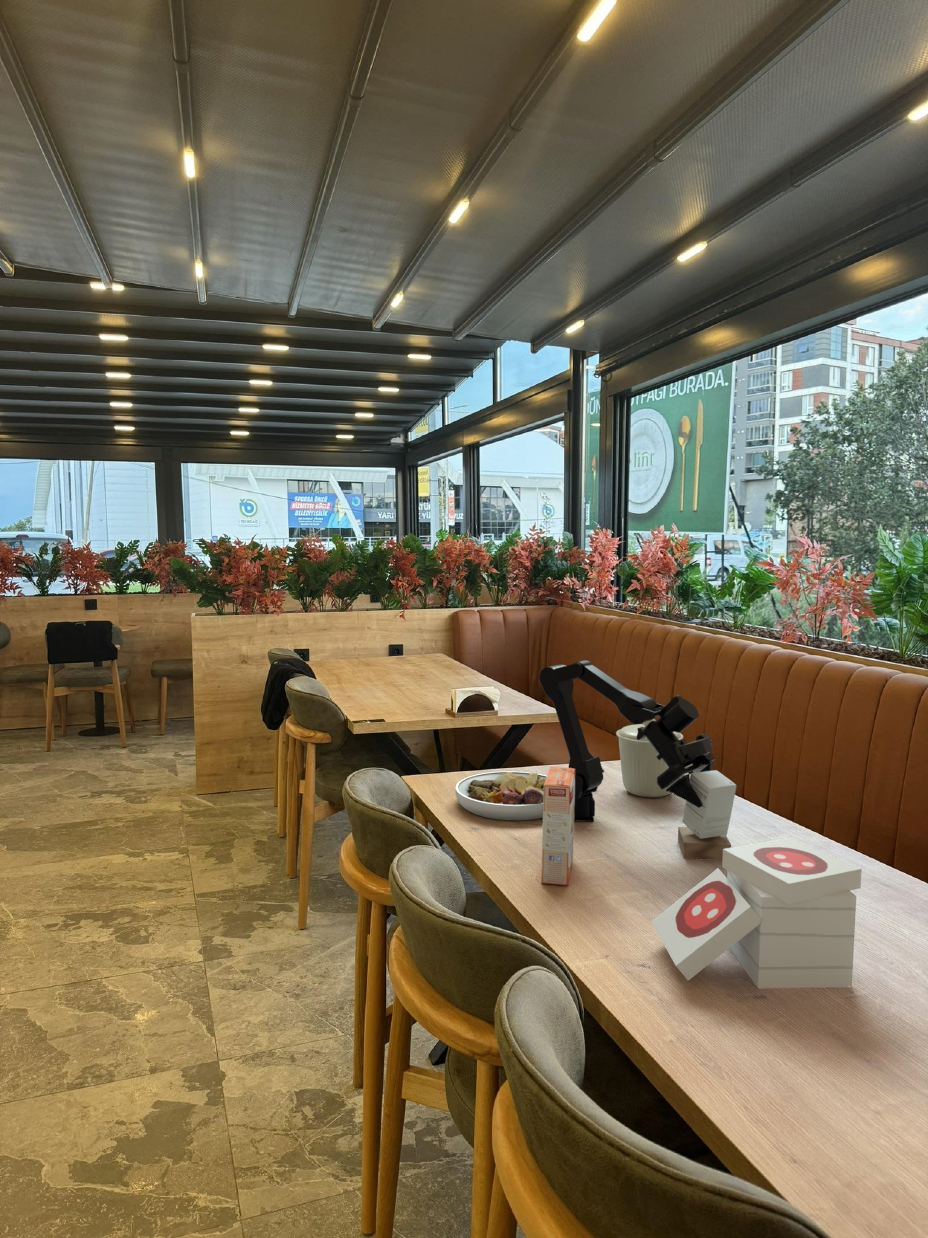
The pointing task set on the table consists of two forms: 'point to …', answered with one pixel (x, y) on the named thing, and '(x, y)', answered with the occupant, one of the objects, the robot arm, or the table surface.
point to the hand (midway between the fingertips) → (710, 801)
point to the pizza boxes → (769, 916)
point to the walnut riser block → (701, 845)
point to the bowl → (503, 795)
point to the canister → (640, 763)
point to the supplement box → (710, 804)
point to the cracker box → (558, 825)
